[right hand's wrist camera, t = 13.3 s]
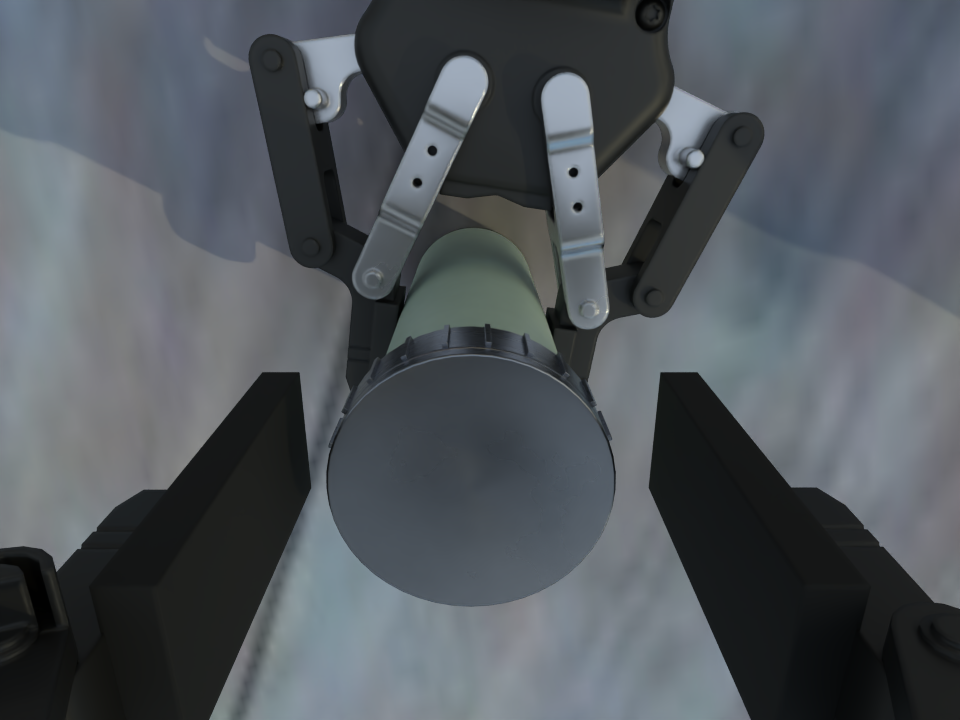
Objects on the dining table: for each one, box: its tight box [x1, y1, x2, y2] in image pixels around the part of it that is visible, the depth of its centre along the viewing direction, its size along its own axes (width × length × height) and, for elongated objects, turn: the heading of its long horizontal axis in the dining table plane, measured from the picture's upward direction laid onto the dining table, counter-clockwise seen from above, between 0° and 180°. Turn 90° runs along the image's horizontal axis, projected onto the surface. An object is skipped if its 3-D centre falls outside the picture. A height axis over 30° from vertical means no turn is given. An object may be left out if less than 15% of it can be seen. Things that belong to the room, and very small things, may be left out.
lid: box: [327, 323, 616, 606], centre depth 13 cm, size 5×6×2 cm
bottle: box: [386, 228, 557, 355], centre depth 20 cm, size 5×5×15 cm
